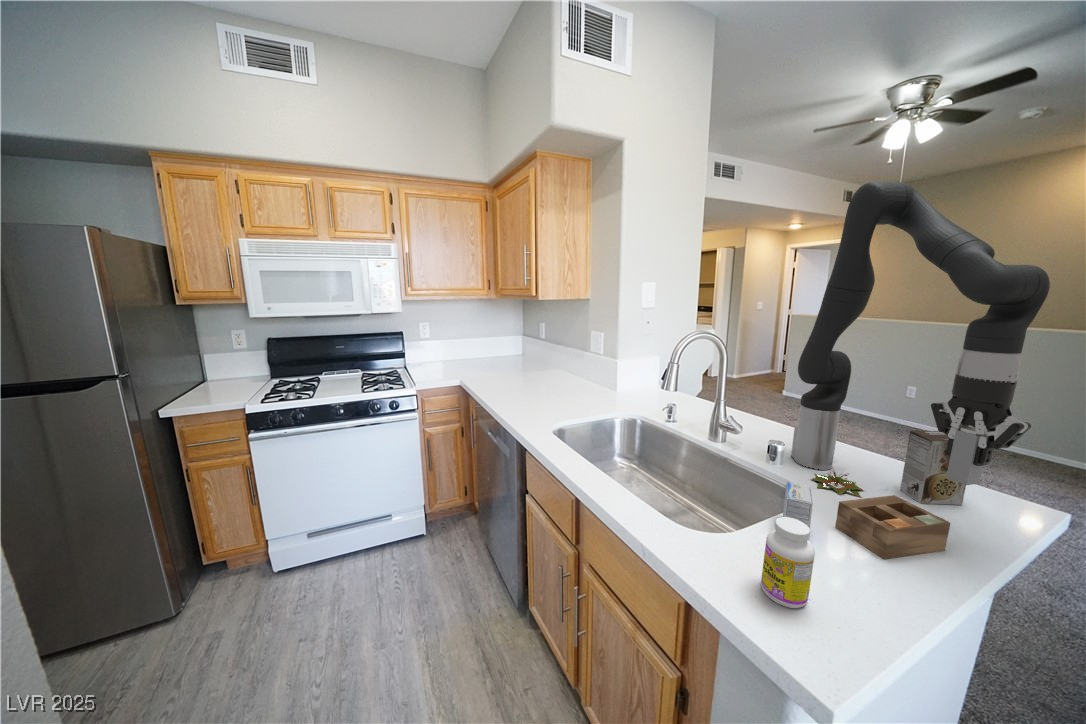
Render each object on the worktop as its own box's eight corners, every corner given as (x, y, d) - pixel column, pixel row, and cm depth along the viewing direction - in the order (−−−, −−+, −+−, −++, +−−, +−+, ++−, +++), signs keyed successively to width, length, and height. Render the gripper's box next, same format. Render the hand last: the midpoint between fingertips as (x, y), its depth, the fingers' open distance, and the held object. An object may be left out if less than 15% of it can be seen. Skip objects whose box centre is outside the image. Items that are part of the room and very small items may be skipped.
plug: (946, 477, 75) (956, 427, 73) (958, 475, 76) (969, 425, 74) (966, 485, 72) (977, 433, 70) (979, 483, 73) (991, 431, 71)
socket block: (835, 526, 80) (839, 500, 79) (890, 520, 82) (894, 493, 81) (884, 559, 70) (889, 529, 69) (944, 550, 73) (951, 521, 71)
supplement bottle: (752, 580, 66) (759, 513, 63) (787, 577, 66) (796, 511, 64) (778, 612, 59) (788, 539, 57) (818, 609, 60) (828, 536, 57)
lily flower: (806, 472, 105) (809, 456, 105) (861, 483, 99) (864, 467, 98) (809, 491, 95) (811, 474, 95) (870, 504, 89) (873, 487, 88)
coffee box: (937, 491, 94) (949, 430, 91) (963, 505, 88) (977, 440, 85) (898, 489, 95) (909, 429, 92) (920, 504, 88) (933, 439, 85)
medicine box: (808, 543, 75) (813, 503, 74) (782, 535, 78) (786, 497, 76) (806, 522, 82) (811, 486, 80) (782, 516, 84) (786, 480, 83)
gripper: (925, 368, 76) (910, 447, 79) (1024, 385, 62) (1001, 480, 66) (954, 366, 77) (938, 445, 81) (1057, 382, 64) (1032, 476, 67)
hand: (966, 460), depth 73 cm, fingers closed on plug, 3 cm apart
